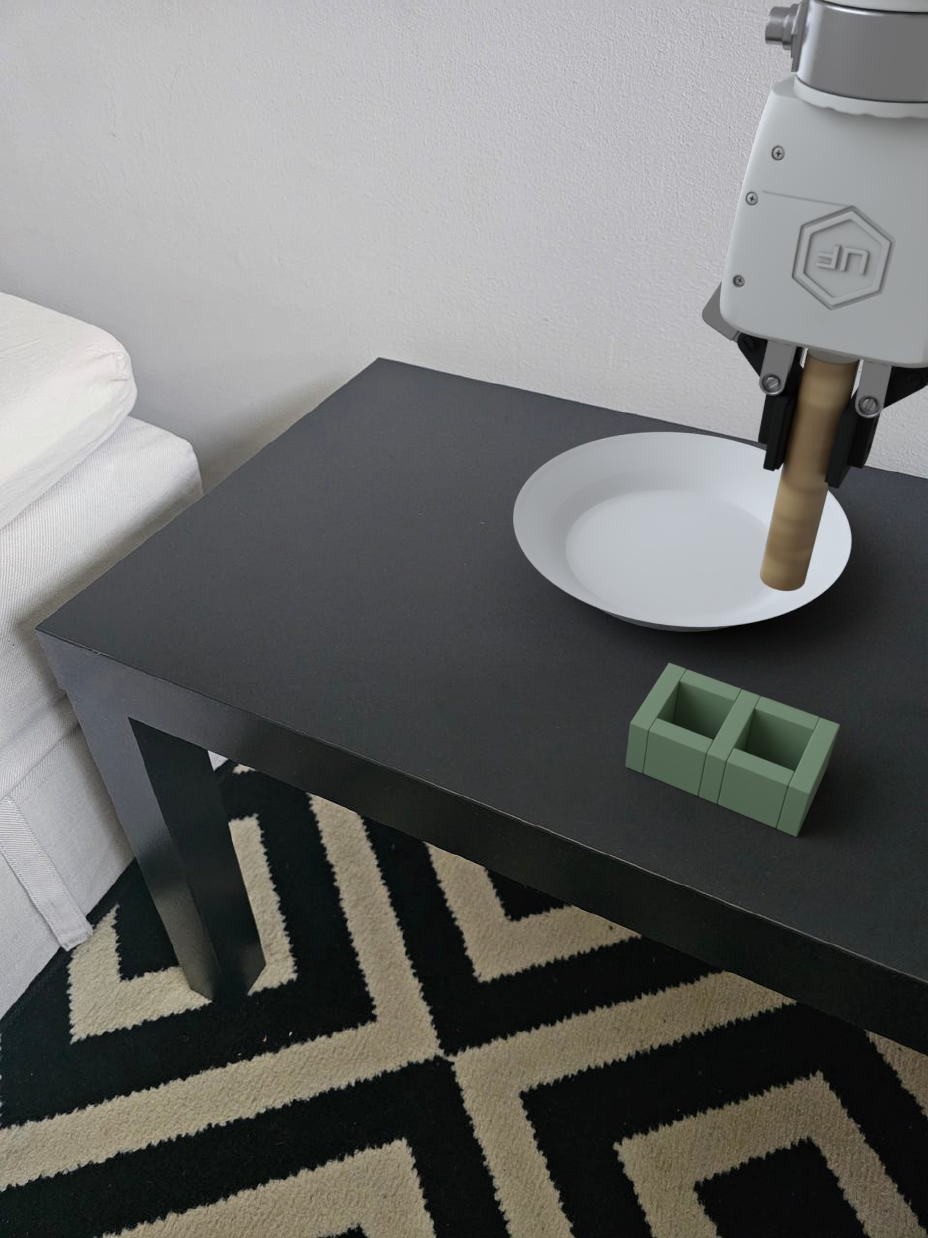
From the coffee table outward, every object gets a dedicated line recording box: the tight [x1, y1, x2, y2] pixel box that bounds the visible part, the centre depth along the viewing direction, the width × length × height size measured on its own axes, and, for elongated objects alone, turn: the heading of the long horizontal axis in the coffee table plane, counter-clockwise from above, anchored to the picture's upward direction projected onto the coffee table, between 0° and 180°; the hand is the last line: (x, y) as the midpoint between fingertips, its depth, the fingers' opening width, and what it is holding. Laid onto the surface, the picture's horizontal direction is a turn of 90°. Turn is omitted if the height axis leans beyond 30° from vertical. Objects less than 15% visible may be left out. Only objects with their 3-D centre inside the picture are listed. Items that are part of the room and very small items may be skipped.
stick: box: [760, 348, 862, 591], centre depth 50 cm, size 2×2×13 cm
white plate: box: [512, 431, 852, 632], centre depth 77 cm, size 25×25×4 cm
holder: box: [625, 662, 841, 838], centre depth 61 cm, size 11×6×4 cm, turn 59°
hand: (809, 463), depth 50 cm, fingers closed on stick, 2 cm apart
